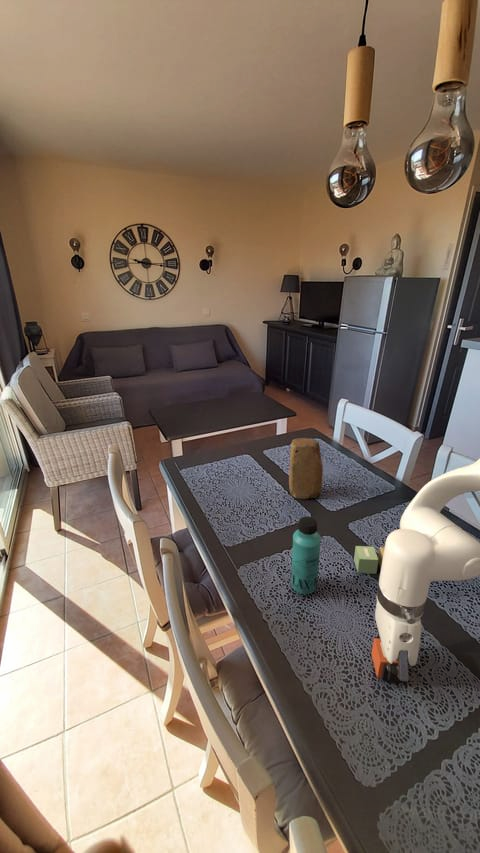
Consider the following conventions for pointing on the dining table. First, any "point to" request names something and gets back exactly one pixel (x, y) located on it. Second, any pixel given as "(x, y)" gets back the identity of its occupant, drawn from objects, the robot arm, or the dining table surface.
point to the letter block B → (366, 559)
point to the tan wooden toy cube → (380, 556)
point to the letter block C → (379, 657)
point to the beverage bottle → (305, 556)
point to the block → (305, 469)
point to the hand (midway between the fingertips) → (386, 665)
